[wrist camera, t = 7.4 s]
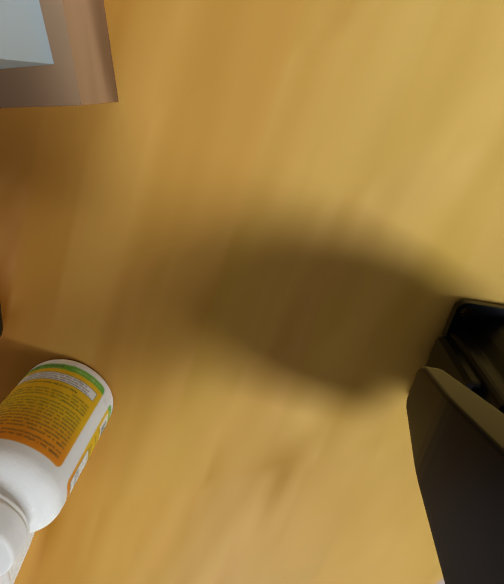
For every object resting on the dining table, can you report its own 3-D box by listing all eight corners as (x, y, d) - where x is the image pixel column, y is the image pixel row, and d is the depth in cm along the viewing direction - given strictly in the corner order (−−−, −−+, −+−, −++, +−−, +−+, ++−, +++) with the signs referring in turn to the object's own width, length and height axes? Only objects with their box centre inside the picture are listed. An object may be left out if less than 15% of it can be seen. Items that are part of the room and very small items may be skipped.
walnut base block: (94, -72, 16) (40, -116, 13) (120, 101, 19) (81, 105, 15) (-56, -62, 17) (-148, -102, 13) (-11, 105, 19) (-78, 110, 16)
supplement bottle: (12, 361, 25) (-133, 507, 16) (99, 351, 24) (-5, 498, 16) (46, 431, 27) (-66, 593, 19) (126, 424, 27) (49, 589, 18)
